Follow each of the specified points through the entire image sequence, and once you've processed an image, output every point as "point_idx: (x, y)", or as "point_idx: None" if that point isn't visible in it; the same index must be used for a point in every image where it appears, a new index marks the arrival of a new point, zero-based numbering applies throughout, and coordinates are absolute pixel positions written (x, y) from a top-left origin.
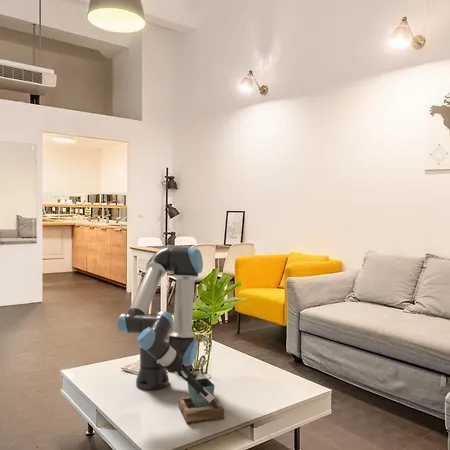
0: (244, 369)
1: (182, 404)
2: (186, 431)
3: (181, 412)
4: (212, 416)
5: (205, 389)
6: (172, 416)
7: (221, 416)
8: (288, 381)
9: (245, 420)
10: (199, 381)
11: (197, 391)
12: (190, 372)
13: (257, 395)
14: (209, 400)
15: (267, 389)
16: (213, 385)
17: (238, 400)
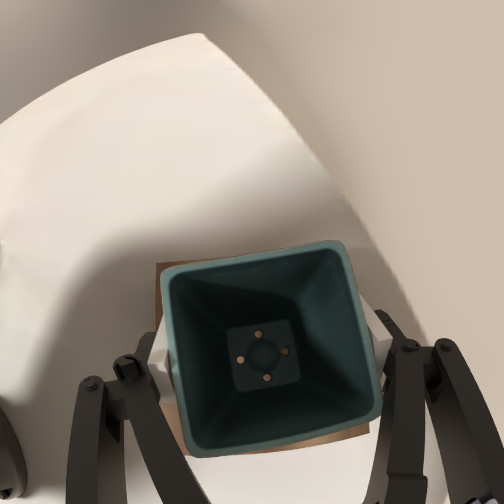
0: (14, 144)
1: (251, 452)
2: None
3: None
4: None
5: (380, 323)
6: (263, 478)
7: None
8: (125, 67)
9: (343, 195)
10: (181, 345)
11: (443, 387)
12: (153, 447)
13: (164, 124)
14: None
15: (140, 101)
16: (338, 248)
17: (177, 179)
